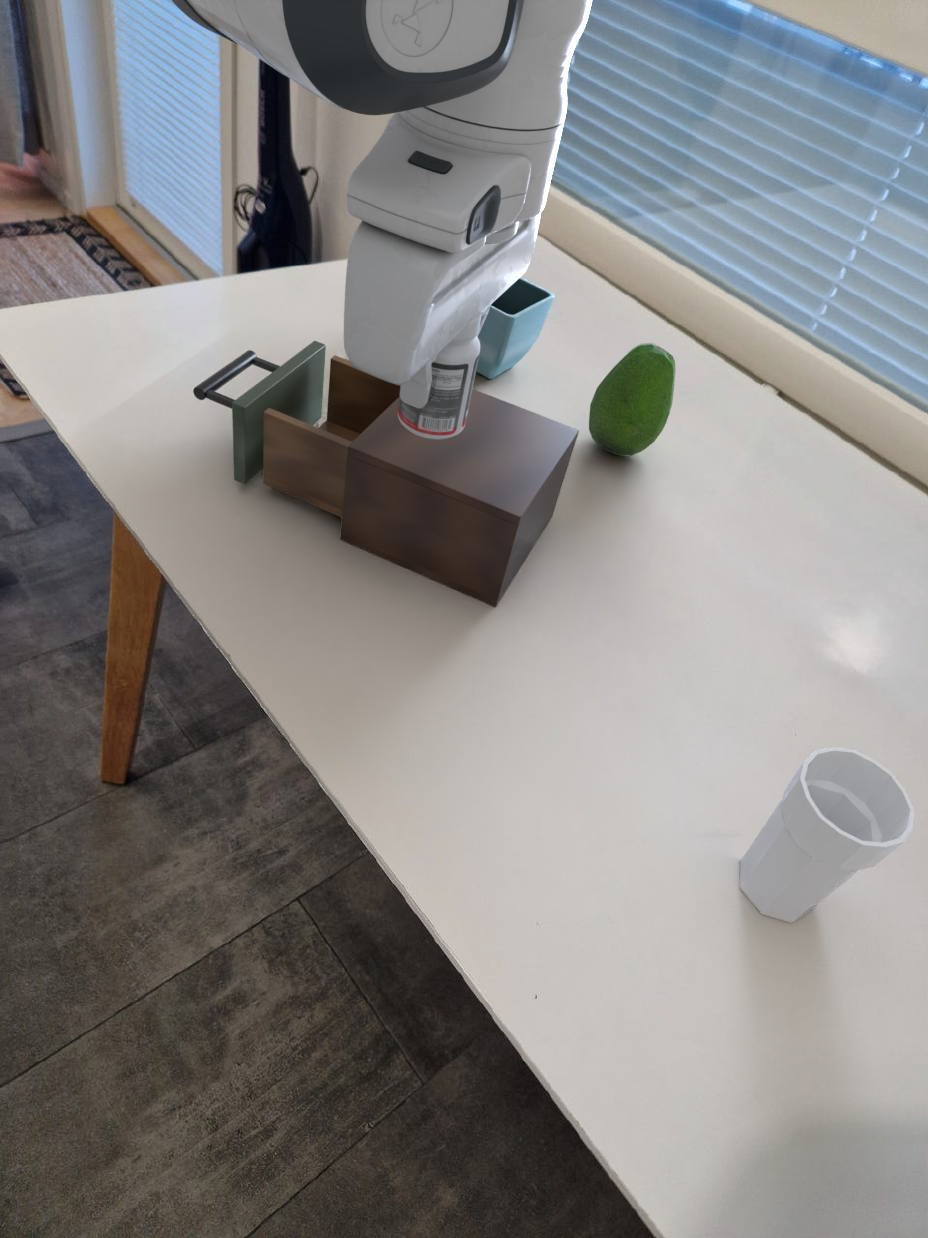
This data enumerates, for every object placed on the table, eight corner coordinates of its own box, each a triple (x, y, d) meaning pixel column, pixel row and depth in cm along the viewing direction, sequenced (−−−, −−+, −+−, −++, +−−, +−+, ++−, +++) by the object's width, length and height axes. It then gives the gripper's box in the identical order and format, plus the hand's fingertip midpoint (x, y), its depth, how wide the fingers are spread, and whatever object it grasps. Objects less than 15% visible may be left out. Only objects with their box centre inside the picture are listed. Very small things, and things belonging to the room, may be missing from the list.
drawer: (179, 456, 76) (172, 377, 71) (261, 393, 85) (261, 318, 79) (371, 539, 73) (380, 463, 67) (435, 464, 82) (448, 392, 76)
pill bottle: (425, 394, 62) (443, 280, 56) (478, 423, 60) (502, 310, 54) (382, 418, 59) (396, 301, 53) (437, 450, 57) (457, 333, 51)
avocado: (650, 479, 88) (693, 374, 79) (575, 459, 88) (609, 352, 79) (654, 437, 93) (693, 334, 85) (583, 418, 93) (616, 314, 85)
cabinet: (339, 539, 73) (347, 445, 67) (412, 459, 83) (426, 370, 76) (495, 607, 71) (520, 517, 64) (552, 516, 81) (579, 429, 74)
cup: (799, 837, 60) (879, 745, 52) (841, 929, 56) (936, 843, 48) (712, 842, 59) (782, 748, 51) (749, 937, 54) (832, 850, 46)
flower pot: (538, 368, 99) (557, 293, 93) (495, 394, 94) (512, 317, 87) (476, 336, 102) (491, 261, 96) (431, 360, 96) (443, 282, 90)
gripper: (494, 103, 55) (458, 307, 65) (328, 189, 41) (315, 433, 51) (585, 133, 54) (535, 337, 64) (447, 232, 40) (410, 473, 50)
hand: (436, 380), depth 57 cm, fingers closed on pill bottle, 5 cm apart
